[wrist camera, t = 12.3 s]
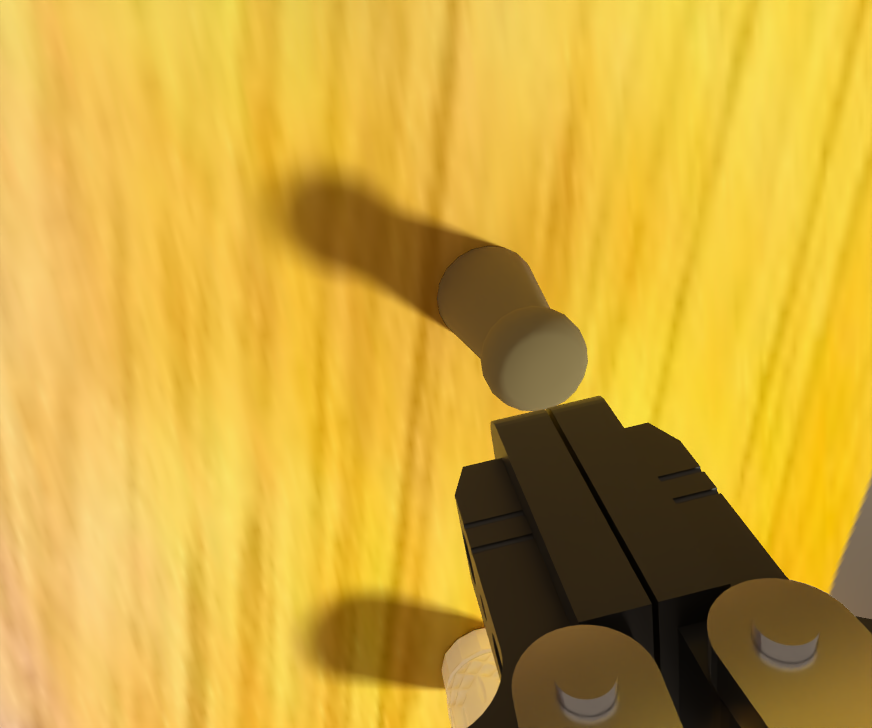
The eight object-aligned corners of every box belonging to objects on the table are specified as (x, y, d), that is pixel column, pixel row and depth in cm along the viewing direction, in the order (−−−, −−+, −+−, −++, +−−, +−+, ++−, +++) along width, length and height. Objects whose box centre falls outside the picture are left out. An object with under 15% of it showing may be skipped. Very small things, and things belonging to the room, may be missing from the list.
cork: (455, 234, 45) (508, 301, 35) (550, 259, 46) (625, 330, 37) (424, 330, 47) (465, 418, 37) (515, 350, 49) (578, 440, 39)
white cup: (535, 611, 58) (584, 722, 49) (534, 687, 62) (579, 804, 53) (431, 629, 57) (461, 746, 48) (435, 706, 60) (464, 829, 51)
